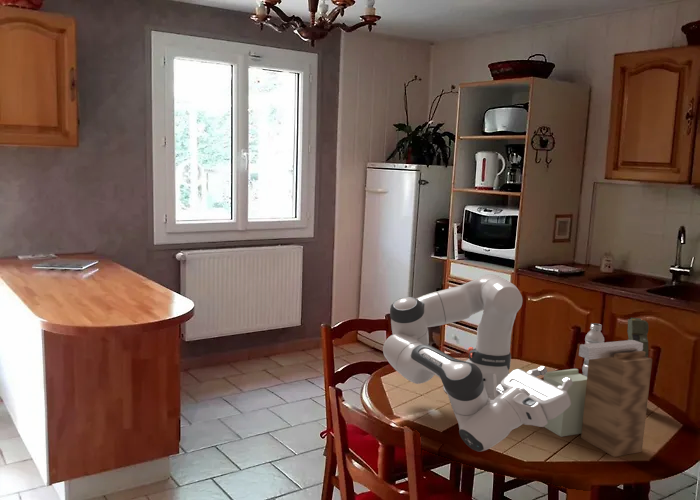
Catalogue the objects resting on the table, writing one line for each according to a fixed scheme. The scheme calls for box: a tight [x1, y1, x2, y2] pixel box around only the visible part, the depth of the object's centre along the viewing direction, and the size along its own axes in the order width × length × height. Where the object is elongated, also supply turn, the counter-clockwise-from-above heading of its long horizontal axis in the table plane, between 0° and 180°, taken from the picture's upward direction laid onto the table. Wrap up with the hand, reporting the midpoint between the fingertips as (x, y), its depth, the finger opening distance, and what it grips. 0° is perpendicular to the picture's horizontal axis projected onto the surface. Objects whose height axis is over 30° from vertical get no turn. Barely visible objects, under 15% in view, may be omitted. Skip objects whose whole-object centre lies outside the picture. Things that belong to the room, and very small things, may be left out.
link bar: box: [578, 339, 643, 360], centre depth 168 cm, size 19×4×3 cm, turn 113°
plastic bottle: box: [581, 322, 605, 377], centre depth 230 cm, size 6×7×20 cm
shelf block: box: [543, 368, 587, 437], centre depth 183 cm, size 12×9×16 cm
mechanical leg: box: [626, 317, 649, 358], centre depth 202 cm, size 14×7×30 cm, turn 169°
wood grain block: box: [580, 351, 653, 458], centre depth 172 cm, size 10×12×27 cm
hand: (557, 374), depth 162 cm, fingers open, 8 cm apart
